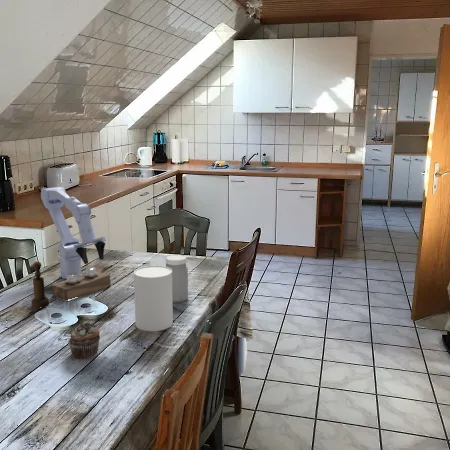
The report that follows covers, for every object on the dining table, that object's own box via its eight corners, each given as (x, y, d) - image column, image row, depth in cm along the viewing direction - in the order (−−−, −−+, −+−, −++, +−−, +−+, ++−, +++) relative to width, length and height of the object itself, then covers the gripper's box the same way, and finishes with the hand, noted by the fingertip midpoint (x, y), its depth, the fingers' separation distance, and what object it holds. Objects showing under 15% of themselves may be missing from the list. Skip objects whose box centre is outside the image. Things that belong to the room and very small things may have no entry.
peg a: (65, 286, 207) (64, 275, 206) (73, 283, 211) (72, 272, 210) (72, 288, 205) (71, 277, 204) (80, 285, 209) (79, 274, 208)
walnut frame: (52, 296, 206) (51, 284, 205) (94, 281, 225) (94, 270, 224) (68, 301, 201) (68, 289, 200) (110, 285, 220) (110, 274, 219)
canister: (137, 332, 174) (135, 278, 169) (133, 317, 187) (132, 266, 182) (175, 328, 177) (175, 275, 173) (169, 314, 190) (168, 264, 185)
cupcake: (88, 343, 166) (86, 315, 163) (106, 352, 160) (105, 323, 157) (63, 354, 158) (61, 324, 156) (81, 363, 152) (79, 333, 150)
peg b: (83, 279, 216) (83, 269, 215) (91, 276, 219) (90, 266, 218) (90, 281, 213) (90, 271, 212) (98, 278, 217) (97, 268, 216)
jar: (184, 304, 199) (184, 261, 195) (161, 302, 201) (160, 260, 197) (191, 295, 209) (190, 254, 205) (168, 294, 211) (168, 253, 206)
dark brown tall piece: (27, 306, 196) (24, 262, 191) (40, 301, 201) (37, 258, 197) (40, 309, 193) (36, 265, 188) (52, 304, 198) (49, 261, 194)
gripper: (67, 236, 213) (74, 266, 212) (96, 227, 209) (104, 258, 208) (75, 235, 219) (83, 265, 219) (104, 226, 216) (112, 257, 215)
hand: (94, 261), depth 214 cm, fingers open, 7 cm apart
